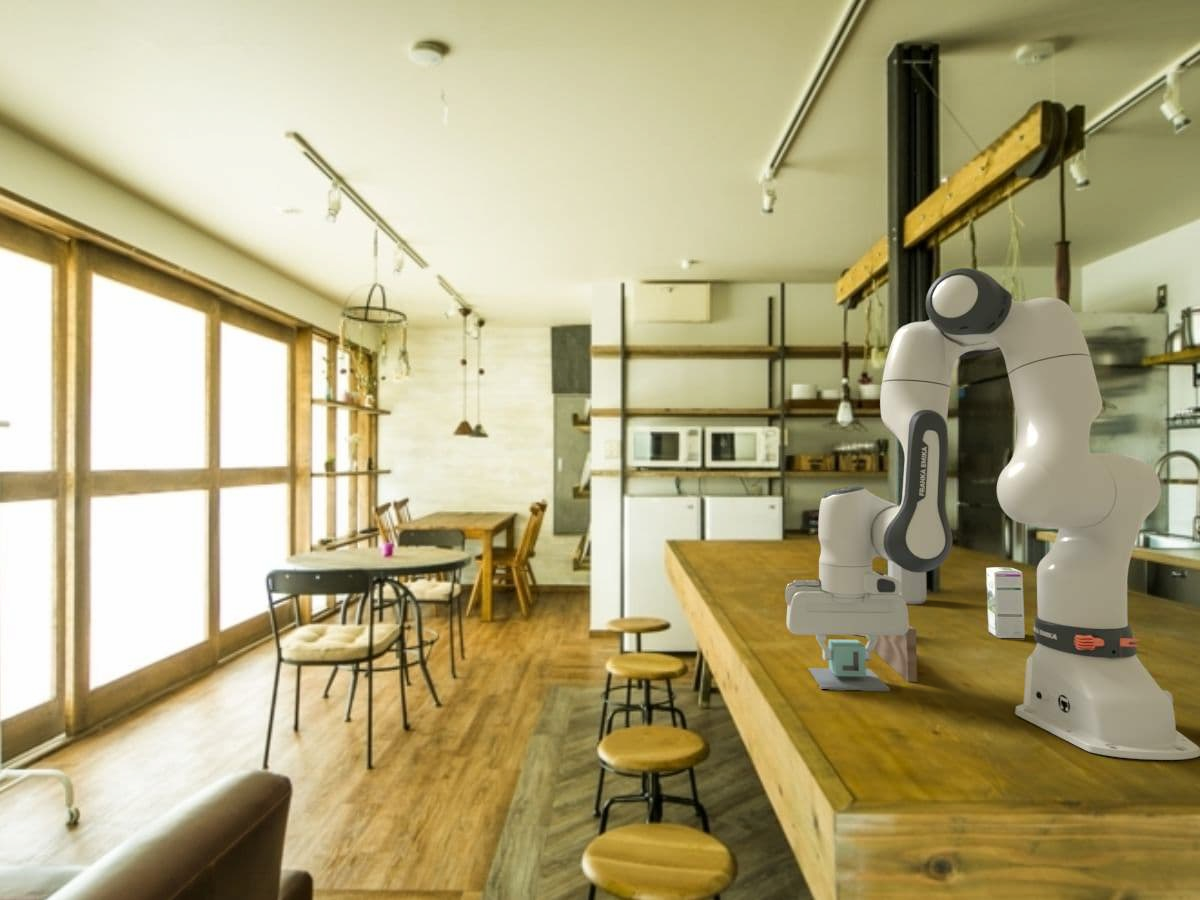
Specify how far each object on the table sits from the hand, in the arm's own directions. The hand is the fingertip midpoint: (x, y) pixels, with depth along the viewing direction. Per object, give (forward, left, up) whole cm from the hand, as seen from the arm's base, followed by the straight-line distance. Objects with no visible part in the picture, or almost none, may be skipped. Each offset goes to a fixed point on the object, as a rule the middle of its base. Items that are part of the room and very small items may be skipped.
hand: (846, 659), depth 123 cm
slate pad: (0, 0, -4) cm, 4 cm away
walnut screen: (+11, -11, -4) cm, 16 cm away
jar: (+72, -34, -4) cm, 80 cm away
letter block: (0, 0, -2) cm, 2 cm away
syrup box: (+34, -42, -4) cm, 54 cm away
